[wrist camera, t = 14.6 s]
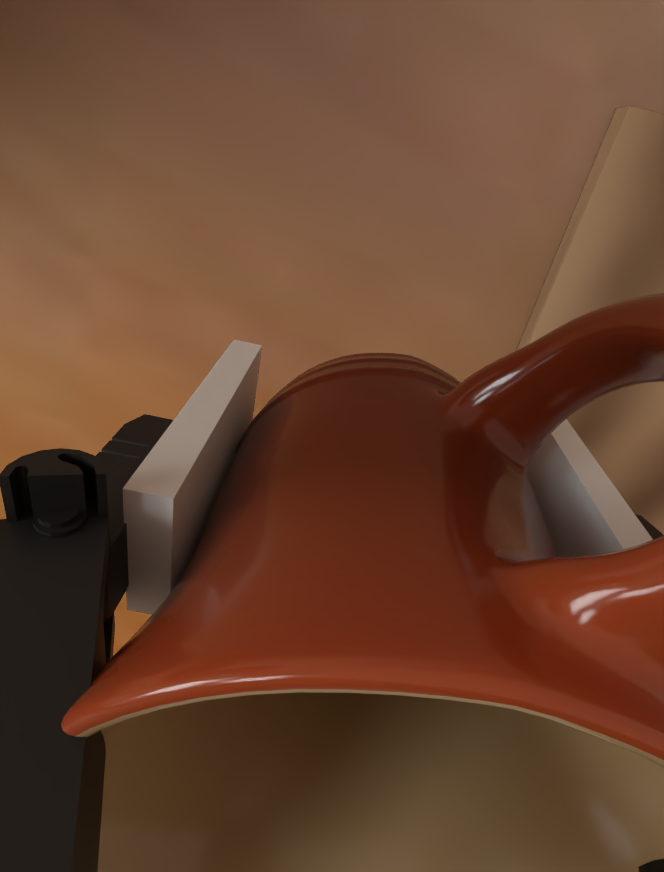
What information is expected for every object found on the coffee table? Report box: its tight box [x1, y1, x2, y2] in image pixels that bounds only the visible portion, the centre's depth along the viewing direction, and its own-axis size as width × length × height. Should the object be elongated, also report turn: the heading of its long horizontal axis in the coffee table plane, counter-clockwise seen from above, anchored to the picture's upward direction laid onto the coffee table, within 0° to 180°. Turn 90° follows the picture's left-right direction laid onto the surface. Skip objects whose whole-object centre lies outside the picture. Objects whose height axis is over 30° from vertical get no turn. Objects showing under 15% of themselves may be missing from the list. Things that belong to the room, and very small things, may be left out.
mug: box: [61, 293, 664, 872], centre depth 10 cm, size 12×9×10 cm
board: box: [516, 106, 664, 535], centre depth 26 cm, size 23×28×1 cm
